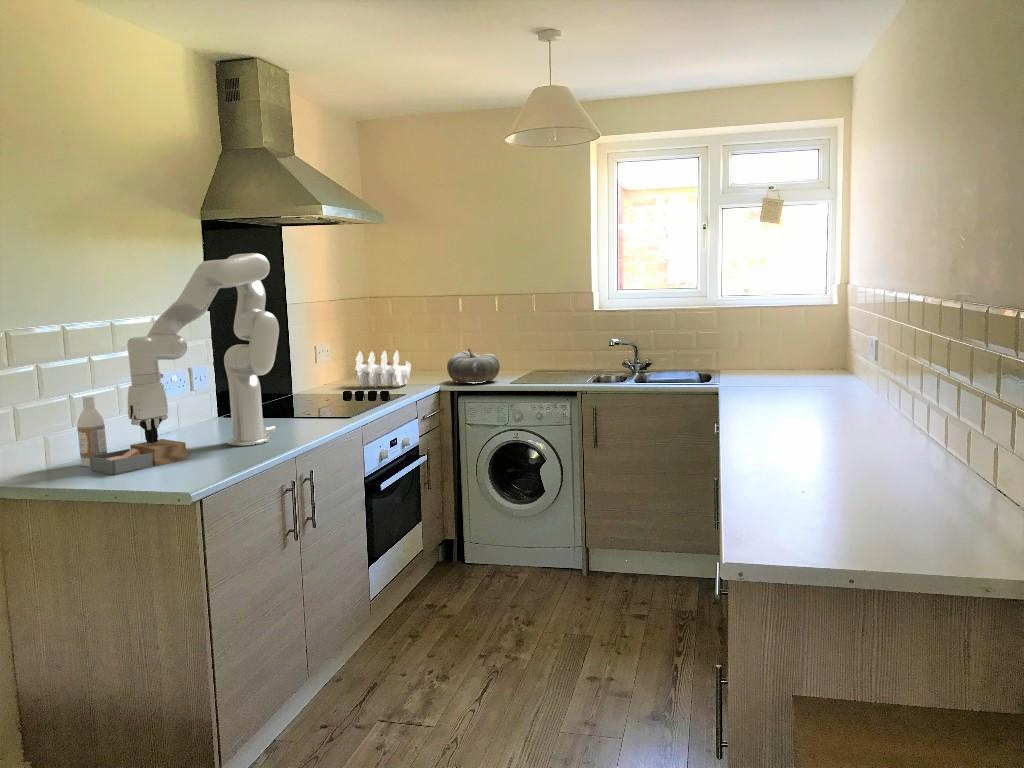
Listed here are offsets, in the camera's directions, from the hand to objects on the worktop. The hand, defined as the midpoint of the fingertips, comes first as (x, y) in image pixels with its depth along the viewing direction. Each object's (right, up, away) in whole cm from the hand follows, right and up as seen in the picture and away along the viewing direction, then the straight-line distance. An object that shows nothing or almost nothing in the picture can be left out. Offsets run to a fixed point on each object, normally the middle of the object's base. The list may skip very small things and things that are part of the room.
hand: (152, 442), depth 233 cm
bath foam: (-17, -7, 0) cm, 18 cm away
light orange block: (-6, -4, -9) cm, 11 cm away
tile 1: (-3, -5, -5) cm, 7 cm away
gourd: (+86, +17, +158) cm, 181 cm away
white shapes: (+43, +15, +152) cm, 158 cm away
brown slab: (+1, -6, +2) cm, 6 cm away
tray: (-5, -7, -7) cm, 11 cm away
